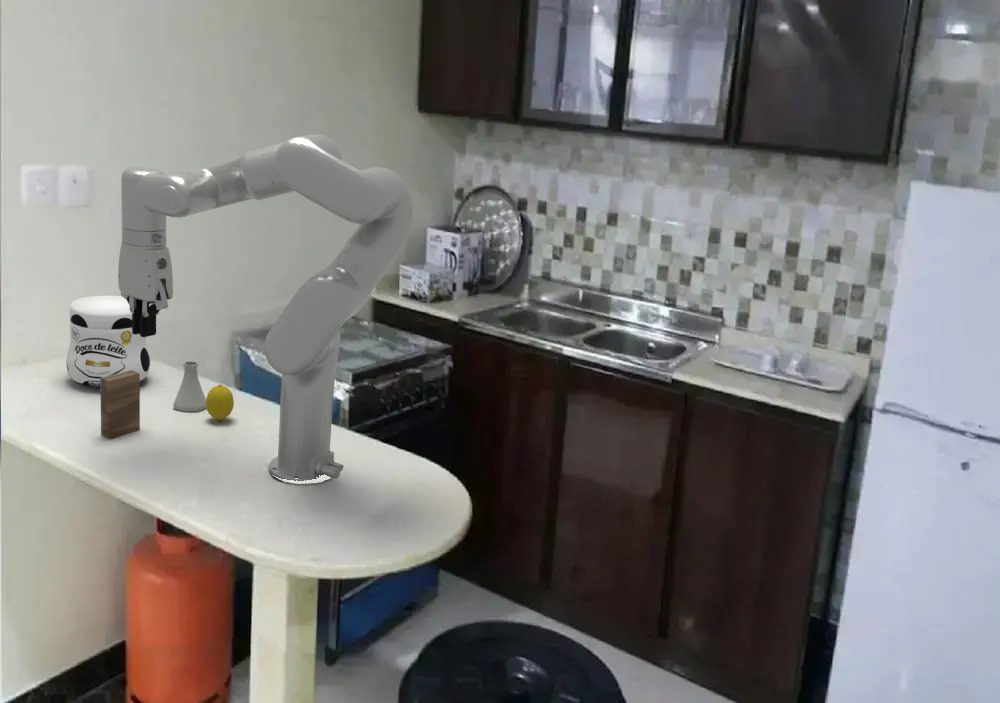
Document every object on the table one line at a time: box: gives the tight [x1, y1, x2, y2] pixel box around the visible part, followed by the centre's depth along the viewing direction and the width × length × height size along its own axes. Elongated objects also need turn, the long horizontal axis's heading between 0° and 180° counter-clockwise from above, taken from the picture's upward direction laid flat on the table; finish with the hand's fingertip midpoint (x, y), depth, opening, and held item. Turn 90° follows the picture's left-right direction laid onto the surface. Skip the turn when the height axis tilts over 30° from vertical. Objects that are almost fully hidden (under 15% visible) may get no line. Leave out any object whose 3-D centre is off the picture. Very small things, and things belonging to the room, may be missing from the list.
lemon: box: [205, 384, 235, 422], centre depth 193 cm, size 6×6×8 cm
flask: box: [172, 360, 207, 412], centre depth 199 cm, size 7×7×10 cm
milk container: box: [65, 294, 151, 389], centre depth 206 cm, size 17×17×18 cm
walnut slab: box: [99, 370, 141, 440], centre depth 182 cm, size 2×7×12 cm, turn 149°
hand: (144, 333), depth 174 cm, fingers closed
